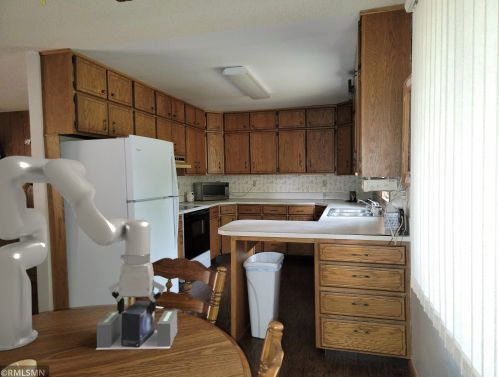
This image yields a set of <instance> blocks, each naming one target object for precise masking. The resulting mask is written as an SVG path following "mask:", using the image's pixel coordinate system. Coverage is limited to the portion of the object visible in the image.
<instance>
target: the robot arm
mask: <svg viewBox="0 0 499 377" xmlns="http://www.w3.org/2000/svg"><path fill="white" fill-rule="evenodd" d="M86 177H87V169H86V166H85V165H84V164H83V163H81V162H80V161H79V160H75V159H70V158H61V157H59V158H58V157H57V158H44V157H43V158H42V157H33V156H28V155H27V156H26V155H12V156H11V155H10V156H6V157H4V158H2V159H0V239H1V240H5V241H10V240H17V239H19V241H18V242H12V243H9V244H6V245H3V246H0V352H1V351H9V350H13V349H15V350H16V349H18V348H21V347H23V346H27V345H29V344H31V343H32V342H33V341H35V340H36V339H37V338H38V336H39V335H38V334H39V333H38V331H37V330H35V329H33V325H32V324H33V317H32V316H33V315H32V313H33V311H32V309H33V308H32V283H31V279H30V277H29V275H28V273H27V271H26V270H29V269H32V268H34V267H37V266H39V265H41V264H42V263H43V262H44V261H46V259H47V256H48V251H49V250H48V249H49V247H48V245H49V244H48V225H47V224H48V223H47V219H46V217H45V215H44V214H43V212H42V211H41V210H40V209H39V210H38V209H36V208H32V207H29V208H28V206H27V196H26V195H27V194H26V192H25V191H24V188H22V185H21V184H25V183H26V184H27V183H29V184H31V183H33V184H36V183H37V184H50V185H51V186H52V187H53V188H54V189H55V190H56V192H58V193H59V194H60V195H61V197H63V198H64V200H66V202H67V203H68V204H69V205H70V206H71V209H72V213H73V217H74V218H75V221H76V223H77V226H78V227H79V228H80V230H82V232H83V233H84V234H85V235H86V236H87V237H88V238H89V239H90V240H91V241H92V242H94V243H95V244H97V245H99V246H102V247H103V246H104V247H107V246H111V245H114V244H117V243H120V242H122V241H124V254H121V255H120V260H123V261H124V262H123V263H122V264H121V268H120V273H119V281H117V282H115V283H113V284H111V285H110V286H108V290H109V292H110V293H111V296H112V297H113V298H114V299H115V302H117V304H116V306H117V307H116V310H117V311H118V314H121V312H123V311H124V310H125V298H149V301H151V302H150V315H152V314H153V312H154V311H156V310H157V300H158V299H159V298H160V297H161V296H162V295H163V292H164V291H165V289H166V286H165V285H164V284H161V283H159V282H157V281H156V280H155V275H154V274H155V272H154V267H153V262H152V261H151V231H152V228H151V226H152V224H151V222H150V221H149V220H147V219H130V218H129V219H128V218H124V217H115V218H110V219H107V218H106V217H105V216H104V215H103V214H102V213H101V212H100V211H99V209H98V208H97V207H96V206H95V202H94V198H95V196H96V194H97V191H96V190H97V189H96V188H95V187H94V186H93V185H92V184H91V183H90V182H89V181H88V180H87V179H86ZM116 288H118V291H117V289H116ZM155 288H156V289H158V292H157V293H155Z"/></svg>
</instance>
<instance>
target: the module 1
mask: <svg viewBox="0 0 499 377" xmlns="http://www.w3.org/2000/svg"><path fill="white" fill-rule="evenodd" d="M121 319H122V313H121V314H118V310H117V311H114V310H113V311H109V312H108V313H107V314H106V315H105V316H104V317H103V318H102V319H101V320H99V322H97V324H96V348H111V346H112V345H113V344H114V342H115V341H116V340H117V339H118V337H119V336H120V335H121V334H122V333H121V331H122V328H121V324H122V323H121V321H122V320H121Z"/></svg>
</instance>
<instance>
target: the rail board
mask: <svg viewBox="0 0 499 377" xmlns="http://www.w3.org/2000/svg"><path fill="white" fill-rule="evenodd" d="M177 332H178V329H177ZM171 346H172V345H171ZM171 346H170V347H157V329H155V332H154V333H153V334H152V335H151V336H150V337H149V338H148V339H147V340H146V341H145V342H144V343H143V344H142V345H141V346H140V347H129V346H121V335H120V336H119V337H118V339H117V340H116V341H115V342H114V344H113V345H112V346H111V348H97V347H96V349H95V351H96V350H97V351H98V350H103V351H104V350H143V349H144V350H149V349H150V350H151V349H153V350H154V349H156V350H157V349H171Z"/></svg>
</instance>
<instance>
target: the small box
mask: <svg viewBox="0 0 499 377" xmlns="http://www.w3.org/2000/svg"><path fill="white" fill-rule="evenodd" d="M150 302H151V300H149V301H148V300H136V301H135V302H134V303H132V304H131V305H130V306H128V307H126V309H125V308H124V311H123V312H121V313H122V319H121V320H122V321H121V323H122V324H121V328H122V331H121V333H122V334H121V346H129V347H140V346H141V345H142V344H143V343H144V342H145V341H146V340H147V339H148V338H149V337H150V336H151V335H152V334H153V333H154V332H155V330H156V329H155V320H156V319H155V314H156V313H155V311H156V310H155V311H154V312H153V314H152V315H150Z"/></svg>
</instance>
